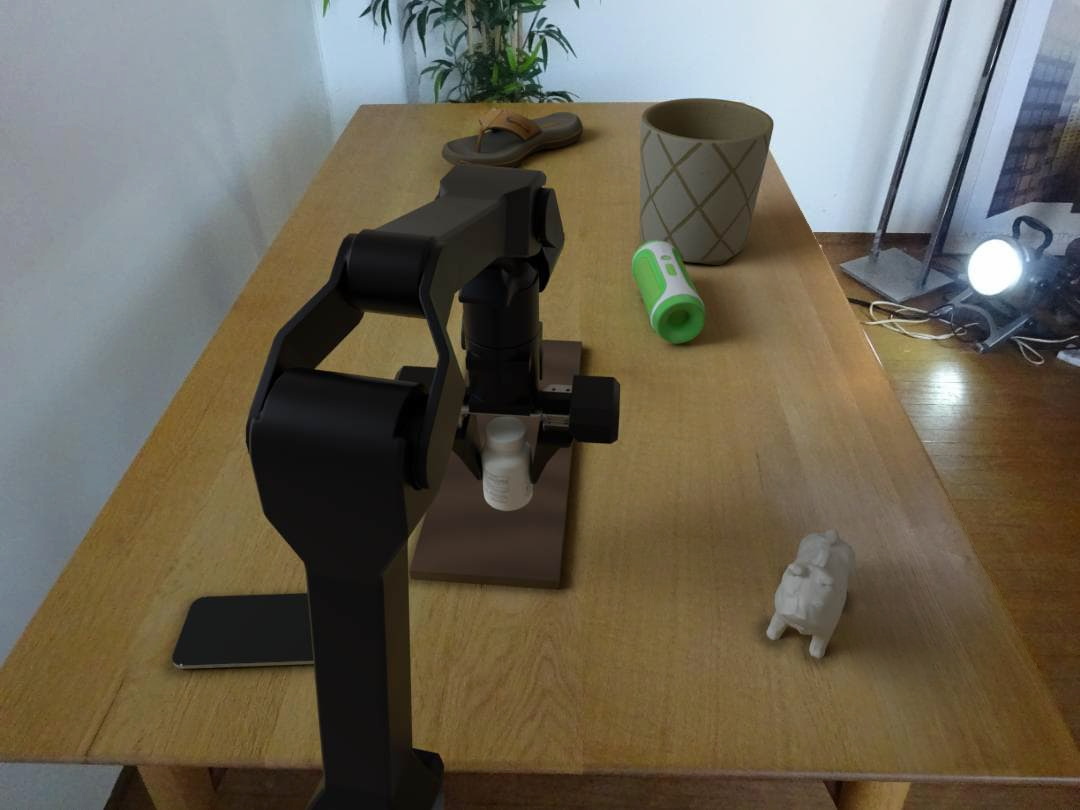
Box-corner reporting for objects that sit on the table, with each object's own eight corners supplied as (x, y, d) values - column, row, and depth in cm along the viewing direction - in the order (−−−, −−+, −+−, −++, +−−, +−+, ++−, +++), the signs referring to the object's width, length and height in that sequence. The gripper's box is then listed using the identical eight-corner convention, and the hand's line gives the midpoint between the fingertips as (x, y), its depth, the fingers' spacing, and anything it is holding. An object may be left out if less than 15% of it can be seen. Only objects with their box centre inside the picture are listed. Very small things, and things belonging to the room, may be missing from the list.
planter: (739, 280, 120) (761, 149, 108) (617, 258, 126) (625, 131, 113) (761, 227, 134) (783, 105, 122) (650, 210, 140) (660, 92, 127)
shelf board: (558, 589, 75) (558, 581, 74) (410, 579, 76) (408, 570, 75) (581, 348, 106) (582, 341, 105) (476, 343, 107) (476, 336, 106)
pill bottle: (520, 472, 75) (518, 406, 70) (540, 503, 71) (540, 436, 67) (476, 487, 73) (471, 420, 68) (495, 518, 70) (491, 451, 65)
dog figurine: (749, 668, 68) (770, 587, 61) (793, 566, 77) (815, 485, 70) (811, 697, 66) (840, 616, 59) (849, 588, 75) (878, 507, 68)
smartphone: (348, 659, 68) (168, 665, 68) (349, 664, 68) (170, 670, 68) (359, 590, 74) (193, 595, 73) (360, 595, 74) (195, 600, 74)
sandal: (422, 164, 157) (418, 115, 151) (557, 125, 174) (557, 80, 168) (464, 186, 148) (461, 135, 143) (601, 142, 165) (603, 96, 160)
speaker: (627, 283, 120) (630, 236, 115) (675, 280, 120) (680, 234, 116) (650, 349, 106) (655, 299, 101) (705, 346, 106) (712, 296, 102)
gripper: (626, 282, 67) (616, 427, 77) (405, 272, 69) (423, 415, 78) (623, 357, 58) (612, 510, 68) (371, 344, 60) (395, 496, 69)
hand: (507, 478), depth 71 cm, fingers closed on pill bottle, 4 cm apart
